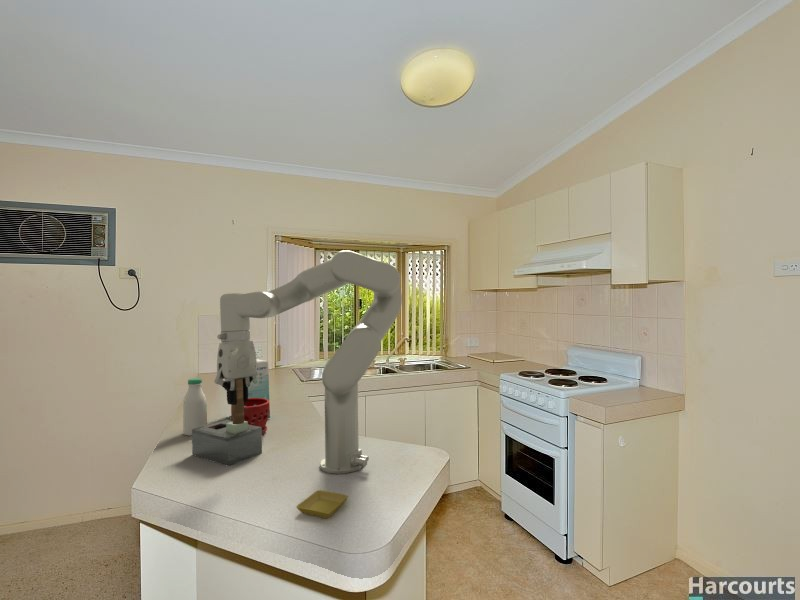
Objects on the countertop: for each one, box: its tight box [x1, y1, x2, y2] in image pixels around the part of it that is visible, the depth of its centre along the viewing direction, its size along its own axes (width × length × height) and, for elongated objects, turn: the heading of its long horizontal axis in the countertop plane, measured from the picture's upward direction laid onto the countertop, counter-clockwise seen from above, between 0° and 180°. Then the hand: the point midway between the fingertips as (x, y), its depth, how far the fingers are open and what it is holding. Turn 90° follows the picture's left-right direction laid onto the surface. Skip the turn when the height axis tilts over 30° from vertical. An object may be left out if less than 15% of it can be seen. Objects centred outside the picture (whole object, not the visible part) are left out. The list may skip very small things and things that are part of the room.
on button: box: [226, 421, 248, 434], centre depth 121 cm, size 4×4×5 cm
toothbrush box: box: [244, 358, 271, 419], centre depth 166 cm, size 18×10×24 cm, turn 41°
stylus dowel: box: [231, 378, 244, 424], centre depth 110 cm, size 3×3×14 cm
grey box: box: [191, 419, 263, 467], centre depth 123 cm, size 18×12×8 cm, turn 58°
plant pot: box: [230, 398, 270, 435], centre depth 143 cm, size 13×13×12 cm
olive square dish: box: [296, 489, 349, 519], centre depth 88 cm, size 9×9×2 cm
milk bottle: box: [182, 377, 208, 437], centre depth 146 cm, size 8×8×20 cm
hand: (237, 402), depth 110 cm, fingers closed on stylus dowel, 3 cm apart
